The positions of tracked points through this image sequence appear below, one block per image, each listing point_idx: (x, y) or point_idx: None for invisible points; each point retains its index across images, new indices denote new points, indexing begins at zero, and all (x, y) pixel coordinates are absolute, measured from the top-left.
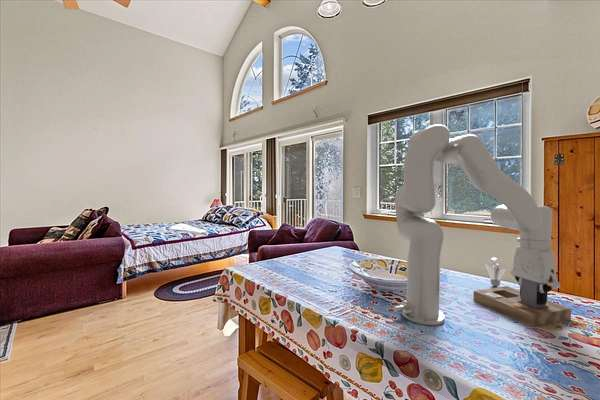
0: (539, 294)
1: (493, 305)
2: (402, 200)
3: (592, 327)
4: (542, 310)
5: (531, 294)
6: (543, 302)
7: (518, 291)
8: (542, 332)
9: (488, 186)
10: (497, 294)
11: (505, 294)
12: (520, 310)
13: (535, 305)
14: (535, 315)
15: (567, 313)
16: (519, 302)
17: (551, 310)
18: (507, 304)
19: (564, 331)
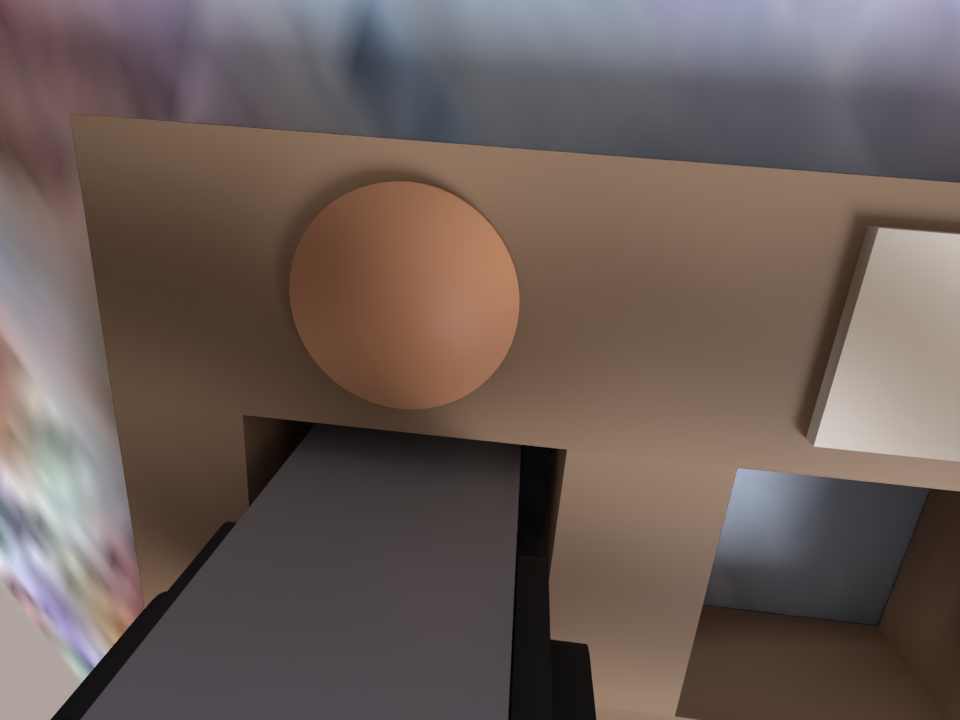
0: (98, 680)
1: (803, 170)
2: None
3: (85, 671)
4: (197, 464)
5: (261, 617)
6: (165, 591)
7: None
8: (60, 93)
9: None
10: (930, 454)
11: (893, 690)
12: (289, 131)
13: (268, 484)
14: (88, 182)
15: None
16: (557, 503)
17: (174, 570)
18: (560, 175)
19: (51, 368)
